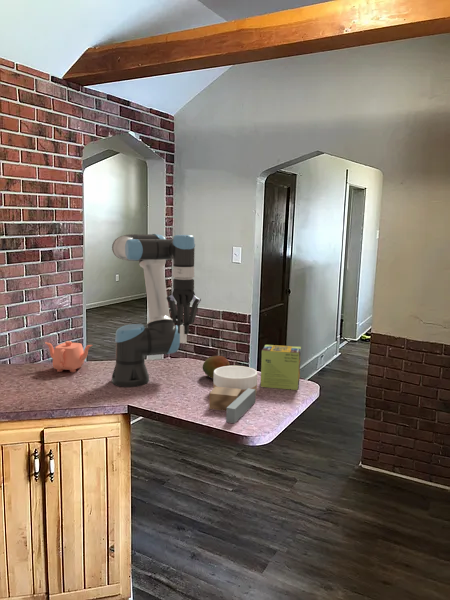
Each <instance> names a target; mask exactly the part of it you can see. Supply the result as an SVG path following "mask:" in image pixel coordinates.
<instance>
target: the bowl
mask: <svg viewBox="0 0 450 600" xmlns="http://www.w3.org/2000/svg"><path fill="white" fill-rule="evenodd" d="M212 380H213V381H212V382H213V385H212V386H213V387H212V388H213V389H214V388H215V386H216V387H226V388H236V389H242V393H243V392H244V391H246V390H247V389H248V388H250V389H256V395H257V392H258V391H257V389H258V371H257V370H256V369H255V368H253V367H248V366H243V365H230V366H223V367H219V368H217V369H215V370H214V376H213V378H212ZM213 389H212V390H213Z"/></svg>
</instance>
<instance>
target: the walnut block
mask: <svg viewBox="0 0 450 600" xmlns="http://www.w3.org/2000/svg"><path fill="white" fill-rule="evenodd" d="M241 394H242V389H236V388H226V387H216V386H215V388H214V389H212V390H211V391H210V392H209V404H208V408H209V410H214V409H215V410H216V411H223V412H226V411H227V407H228V406H229V405H230V404H231V403H232V402H233V401H235V400H236V399H237V398H238V397H239V396H240V395H241Z"/></svg>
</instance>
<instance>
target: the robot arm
mask: <svg viewBox="0 0 450 600" xmlns="http://www.w3.org/2000/svg"><path fill="white" fill-rule="evenodd" d="M195 247H196V244H195V236H194V235H192V234H175V235H173V238H170V239H169V238H166V237H165V236H164V235H162V234H155V233H152V234H148V233H147V234H144V233H143V234H140V233H139V234H138V233H137V234H135V233H134V234H133V233H132V234H130V233H129V234H123V235H121V236H118V237H117V238H115V239H114V240H113V242H112V245H111V250H112V253H113V255H114V256H115V257H116V258H117V259H120V260H123V261H128V262H129V261H133V262H138V264H139V266H140V268H142V269H143V275H144V283H145V284H144V285H145V291H146V301H147V309H148V316H149V321H148V322H147V323H146V327H145V325H144V324H142V323H130V324H126V325H123V326H120V327H118V328H117V330H116V331H115V339H114V342H115V366H114V367H113V368H114V369H113V371H112V375H111V383H112V385H114V386H118V387H123V388H124V387H125V388H128V387H129V388H131V387H133V388H134V387H140V386H144V385H146V384H147V383H149V381H150V375H149V372H148V369H147V366H146V363H145V362H146V361H145V357H147V356H159V355H170V354H175V353H177V352H178V351H179V349H180V344H186V343H187V342H188V341H187V340H188V334H189V333H190V325H192V324H194V323H195V320H196V315H197V312H198V311H197V310H198V308H199V304H200V303H201V301H202V298H200V297H197V296H196V293H195V279H194V278H195V249H196V248H195ZM169 260H172V261H173V262H172V264H173V266H172V267H173V269H172V272H173V275H172V276H173V279H172V281H173V282H172V288H173V291H172V293H171V294H170V295H169V296H168V293H167V286H166V284H167V283H166V277H165V271H164V266H165V265H166V263H167V261H169ZM191 302H192V305H191ZM190 307H191V309H190ZM170 314H171V315H170ZM175 324H176V325H175Z"/></svg>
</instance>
